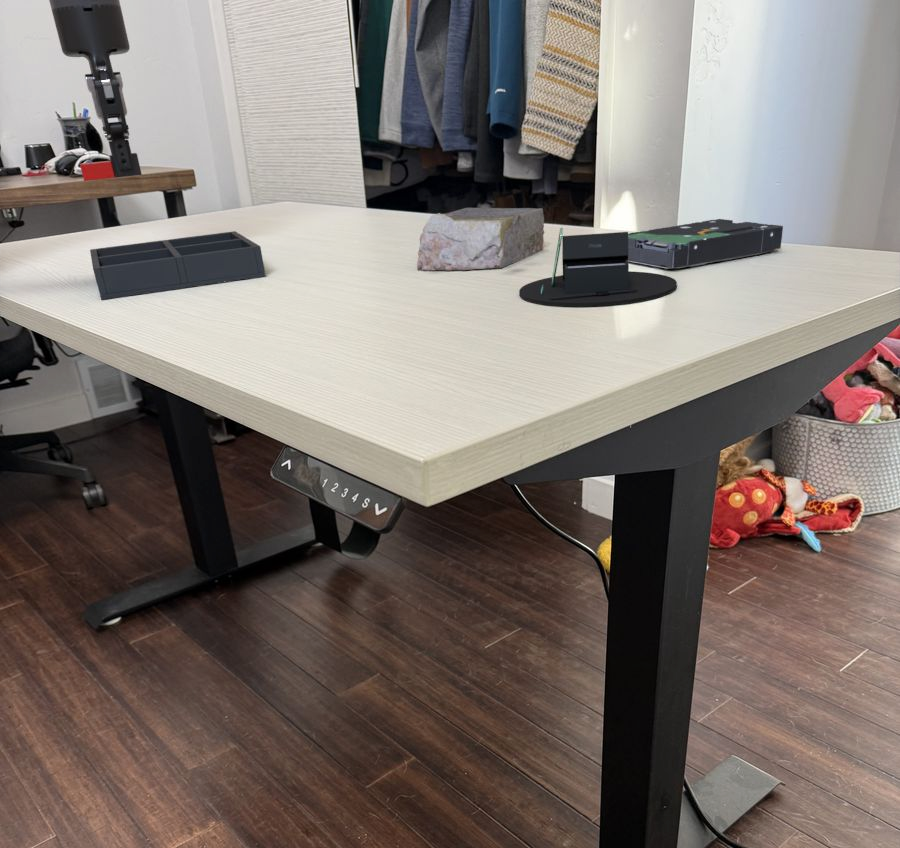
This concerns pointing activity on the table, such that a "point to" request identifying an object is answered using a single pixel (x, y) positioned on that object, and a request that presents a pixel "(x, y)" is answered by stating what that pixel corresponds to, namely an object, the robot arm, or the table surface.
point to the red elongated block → (106, 169)
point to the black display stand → (596, 275)
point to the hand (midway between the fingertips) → (126, 173)
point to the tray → (175, 264)
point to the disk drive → (702, 243)
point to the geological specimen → (480, 238)
